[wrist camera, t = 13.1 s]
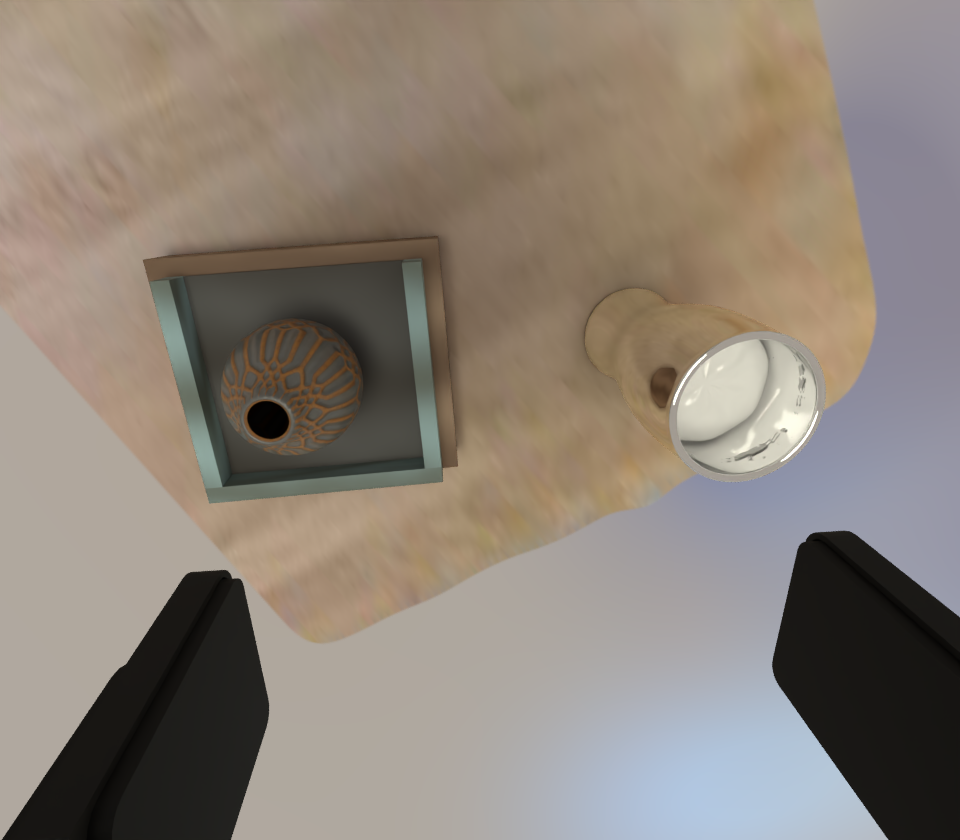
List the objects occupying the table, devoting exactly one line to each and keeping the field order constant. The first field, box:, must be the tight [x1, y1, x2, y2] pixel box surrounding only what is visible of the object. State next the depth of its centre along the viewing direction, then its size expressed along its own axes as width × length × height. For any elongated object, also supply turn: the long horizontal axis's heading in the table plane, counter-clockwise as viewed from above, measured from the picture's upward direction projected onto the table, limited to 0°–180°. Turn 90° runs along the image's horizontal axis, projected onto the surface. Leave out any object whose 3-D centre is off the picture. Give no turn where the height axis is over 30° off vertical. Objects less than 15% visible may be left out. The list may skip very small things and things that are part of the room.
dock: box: [143, 236, 458, 503], centre depth 33 cm, size 14×16×5 cm
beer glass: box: [585, 288, 826, 482], centre depth 30 cm, size 7×7×15 cm
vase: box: [221, 318, 363, 455], centre depth 28 cm, size 7×7×9 cm
